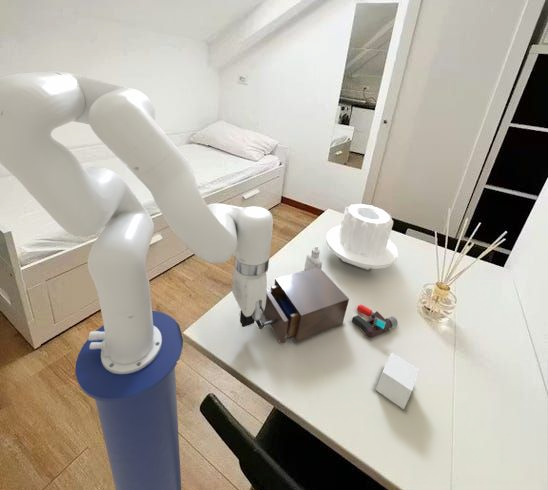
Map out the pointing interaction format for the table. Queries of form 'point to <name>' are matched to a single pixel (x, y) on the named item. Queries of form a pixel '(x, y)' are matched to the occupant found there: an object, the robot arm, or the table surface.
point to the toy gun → (373, 322)
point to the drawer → (278, 316)
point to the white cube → (397, 380)
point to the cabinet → (314, 301)
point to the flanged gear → (363, 237)
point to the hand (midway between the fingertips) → (247, 322)
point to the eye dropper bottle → (313, 259)
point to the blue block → (285, 306)
